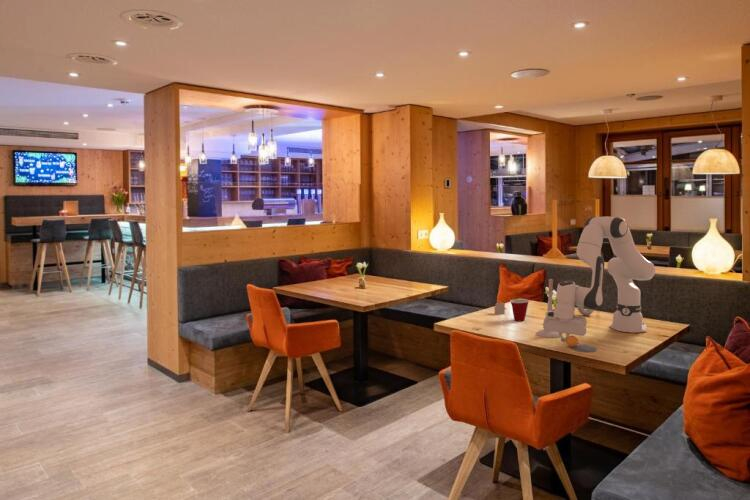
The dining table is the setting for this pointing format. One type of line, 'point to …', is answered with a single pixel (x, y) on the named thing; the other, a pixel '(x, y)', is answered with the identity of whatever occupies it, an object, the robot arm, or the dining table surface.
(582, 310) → the donut
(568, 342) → the ball
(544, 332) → the candlestick
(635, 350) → the dining table surface
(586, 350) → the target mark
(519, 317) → the plastic cup
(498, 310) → the architectural model
